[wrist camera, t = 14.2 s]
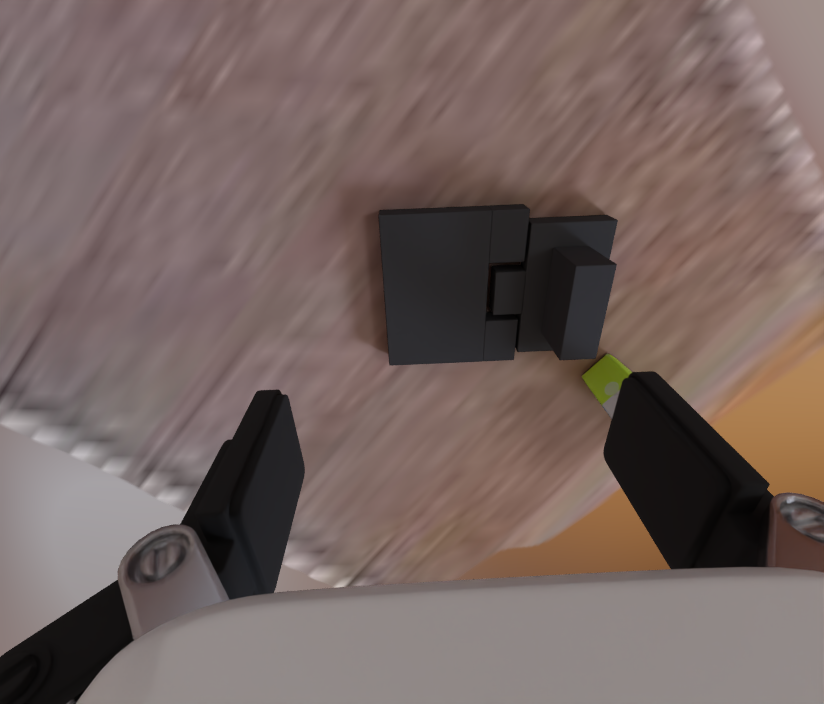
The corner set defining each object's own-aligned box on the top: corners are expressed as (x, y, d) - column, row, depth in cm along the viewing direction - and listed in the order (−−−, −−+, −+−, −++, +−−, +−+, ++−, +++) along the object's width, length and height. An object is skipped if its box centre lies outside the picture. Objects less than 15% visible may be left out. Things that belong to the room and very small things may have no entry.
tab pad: (494, 219, 34) (515, 240, 28) (607, 214, 34) (652, 235, 28) (486, 343, 40) (501, 383, 34) (582, 339, 40) (615, 378, 34)
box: (578, 376, 43) (676, 515, 28) (609, 348, 41) (731, 480, 26) (638, 422, 46) (755, 568, 31) (669, 399, 44) (808, 541, 29)
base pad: (379, 210, 34) (378, 215, 32) (523, 204, 34) (530, 208, 32) (389, 355, 41) (389, 365, 39) (508, 349, 41) (513, 360, 39)
